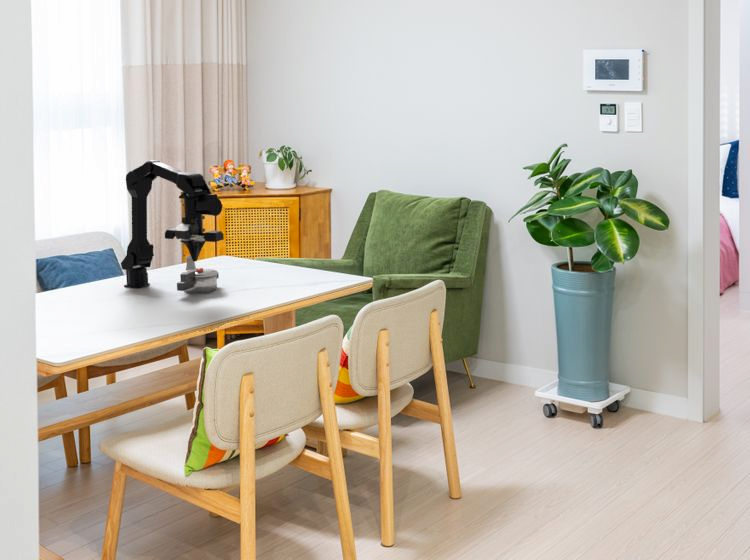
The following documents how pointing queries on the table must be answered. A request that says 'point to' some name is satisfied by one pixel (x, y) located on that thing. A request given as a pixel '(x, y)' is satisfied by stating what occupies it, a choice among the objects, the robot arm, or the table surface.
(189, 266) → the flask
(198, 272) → the lid
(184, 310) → the table surface
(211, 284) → the pot
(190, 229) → the robot arm
